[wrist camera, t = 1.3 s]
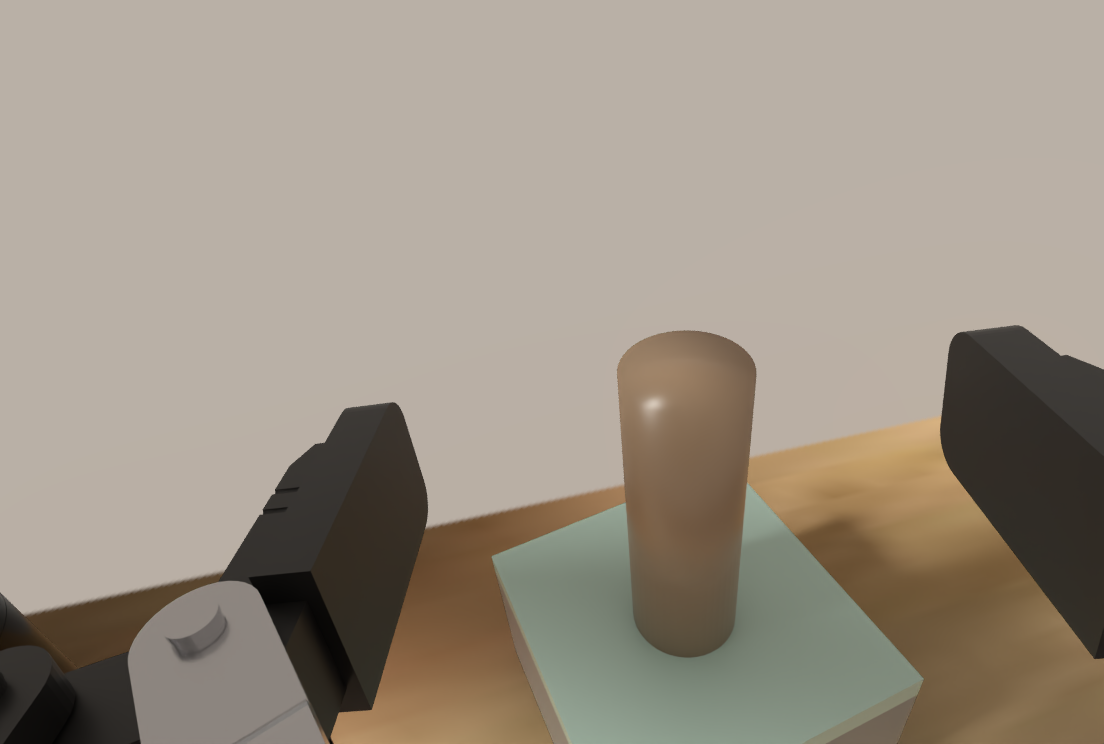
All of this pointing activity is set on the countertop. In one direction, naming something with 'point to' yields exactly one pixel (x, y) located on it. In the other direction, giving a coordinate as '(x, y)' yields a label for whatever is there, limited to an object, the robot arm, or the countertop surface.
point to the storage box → (868, 740)
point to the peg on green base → (694, 584)
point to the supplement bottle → (26, 635)
